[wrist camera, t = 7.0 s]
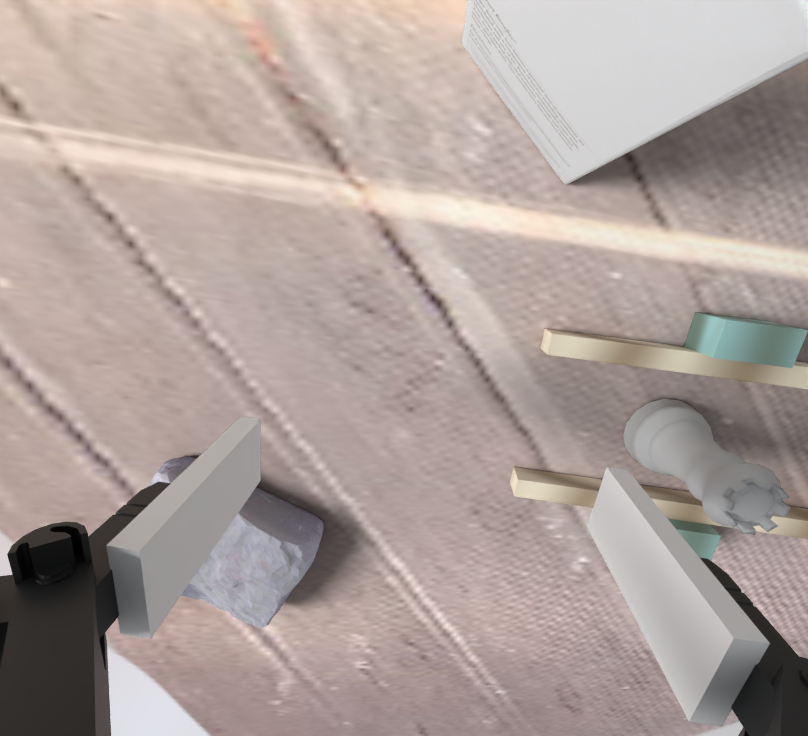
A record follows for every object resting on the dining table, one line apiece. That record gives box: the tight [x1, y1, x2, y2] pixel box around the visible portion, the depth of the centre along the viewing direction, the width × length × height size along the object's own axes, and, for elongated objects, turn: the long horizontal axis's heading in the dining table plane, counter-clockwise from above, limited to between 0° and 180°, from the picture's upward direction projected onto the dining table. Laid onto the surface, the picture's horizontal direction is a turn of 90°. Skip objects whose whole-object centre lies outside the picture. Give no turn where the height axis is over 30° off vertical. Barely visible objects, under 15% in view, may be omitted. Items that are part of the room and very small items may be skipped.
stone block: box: [150, 456, 324, 628], centre depth 28 cm, size 12×5×10 cm
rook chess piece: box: [623, 399, 790, 535], centre depth 21 cm, size 4×4×8 cm
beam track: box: [510, 312, 808, 561], centre depth 23 cm, size 20×14×2 cm
